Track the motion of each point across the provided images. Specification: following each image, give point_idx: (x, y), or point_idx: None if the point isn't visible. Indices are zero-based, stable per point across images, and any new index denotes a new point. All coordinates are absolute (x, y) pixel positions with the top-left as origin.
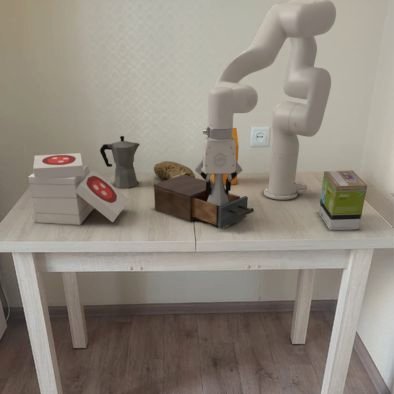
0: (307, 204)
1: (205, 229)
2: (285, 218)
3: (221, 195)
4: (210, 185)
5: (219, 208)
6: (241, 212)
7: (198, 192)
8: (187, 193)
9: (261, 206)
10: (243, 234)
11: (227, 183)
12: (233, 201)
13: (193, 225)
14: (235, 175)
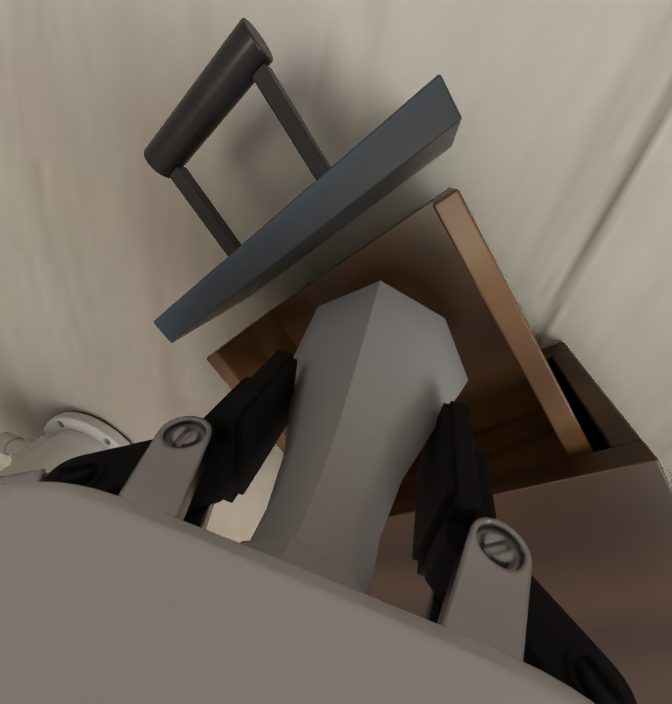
0: (15, 355)
1: (525, 195)
2: (75, 244)
3: (349, 344)
4: (451, 464)
5: (455, 105)
6: (242, 56)
7: (516, 492)
8: (638, 513)
9: (166, 395)
10: (300, 38)
11: (241, 409)
12: (267, 252)
13: (571, 285)
14: (82, 460)
